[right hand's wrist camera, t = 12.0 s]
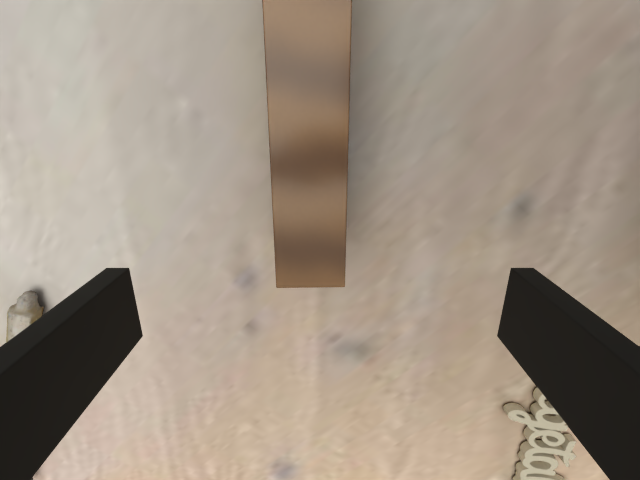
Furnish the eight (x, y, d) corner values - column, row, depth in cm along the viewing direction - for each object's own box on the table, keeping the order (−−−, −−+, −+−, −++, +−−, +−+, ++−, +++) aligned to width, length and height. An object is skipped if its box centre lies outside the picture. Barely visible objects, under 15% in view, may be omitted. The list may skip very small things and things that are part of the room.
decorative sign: (521, 352, 35) (621, 350, 35) (516, 346, 36) (613, 343, 36) (482, 529, 44) (562, 526, 44) (478, 520, 45) (557, 518, 45)
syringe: (20, 282, 32) (-6, 297, 30) (63, 294, 33) (41, 310, 30) (6, 469, 40) (-16, 494, 38) (40, 476, 41) (22, 501, 38)
